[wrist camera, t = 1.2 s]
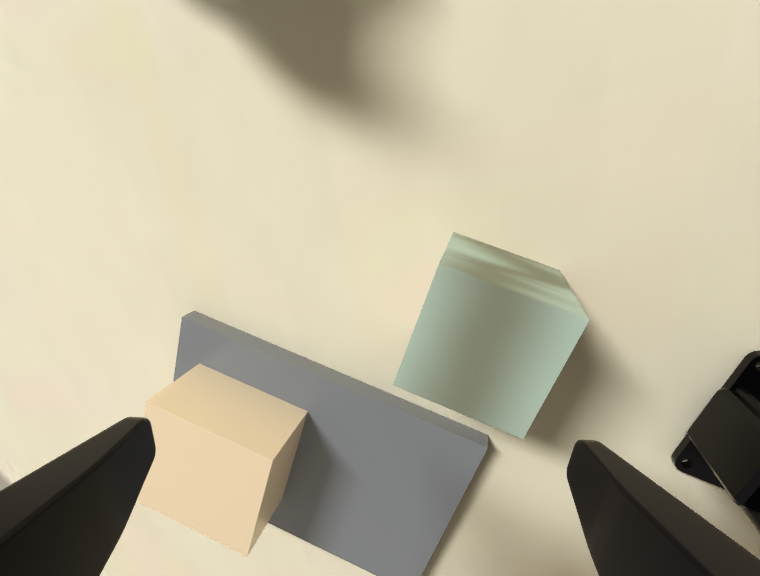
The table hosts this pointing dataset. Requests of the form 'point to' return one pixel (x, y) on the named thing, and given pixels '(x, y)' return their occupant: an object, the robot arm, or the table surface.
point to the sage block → (492, 335)
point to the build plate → (301, 454)
